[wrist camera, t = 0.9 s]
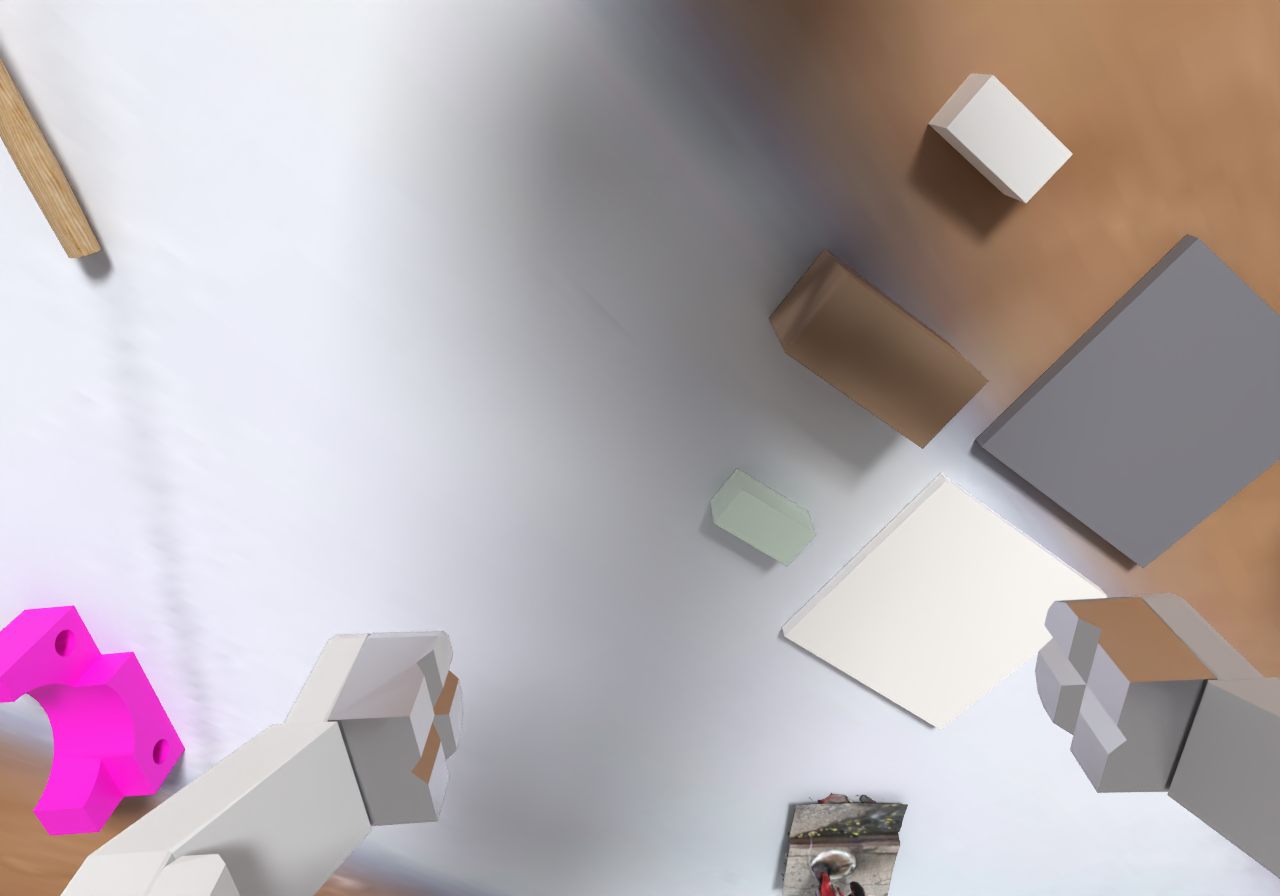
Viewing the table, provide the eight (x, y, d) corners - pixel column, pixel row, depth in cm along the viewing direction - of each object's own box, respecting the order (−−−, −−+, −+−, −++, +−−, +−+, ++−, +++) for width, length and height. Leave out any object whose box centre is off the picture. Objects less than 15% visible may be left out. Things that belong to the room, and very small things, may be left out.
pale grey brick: (926, 123, 41) (946, 128, 38) (969, 73, 40) (992, 74, 37) (1002, 193, 43) (1026, 203, 40) (1045, 147, 42) (1072, 154, 39)
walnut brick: (823, 248, 44) (849, 275, 39) (949, 343, 47) (988, 381, 41) (768, 317, 46) (785, 352, 40) (891, 405, 48) (922, 448, 43)
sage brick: (709, 499, 52) (713, 523, 49) (736, 466, 51) (742, 489, 48) (779, 540, 53) (787, 566, 51) (807, 510, 52) (816, 534, 49)
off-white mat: (941, 472, 50) (946, 480, 50) (1099, 587, 55) (1107, 596, 54) (782, 627, 56) (784, 636, 56) (936, 720, 61) (940, 730, 60)
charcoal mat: (1187, 234, 43) (1198, 238, 42) (1347, 387, 48) (1361, 394, 47) (975, 439, 49) (981, 446, 48) (1134, 559, 54) (1143, 568, 53)
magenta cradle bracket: (186, 747, 63) (131, 829, 56) (112, 752, 63) (50, 835, 56) (108, 600, 56) (36, 675, 49) (26, 608, 56) (-57, 682, 49)
